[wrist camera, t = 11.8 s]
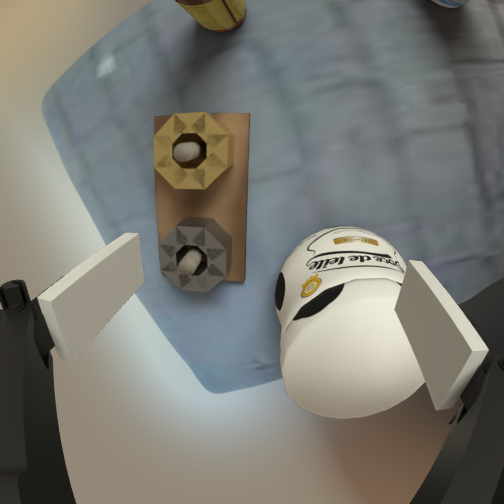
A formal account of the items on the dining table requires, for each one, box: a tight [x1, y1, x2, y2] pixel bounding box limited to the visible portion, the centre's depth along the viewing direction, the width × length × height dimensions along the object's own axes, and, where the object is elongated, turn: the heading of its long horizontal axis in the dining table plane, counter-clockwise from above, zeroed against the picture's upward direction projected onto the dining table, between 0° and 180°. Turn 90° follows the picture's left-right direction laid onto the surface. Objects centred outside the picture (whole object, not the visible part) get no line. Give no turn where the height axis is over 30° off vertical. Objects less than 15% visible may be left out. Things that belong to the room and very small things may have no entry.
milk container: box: [275, 226, 425, 419], centre depth 31 cm, size 17×17×18 cm
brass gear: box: [154, 112, 234, 189], centre depth 32 cm, size 9×9×4 cm
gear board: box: [154, 113, 250, 282], centre depth 34 cm, size 12×22×7 cm, turn 178°
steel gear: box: [158, 217, 232, 293], centre depth 37 cm, size 9×9×4 cm
